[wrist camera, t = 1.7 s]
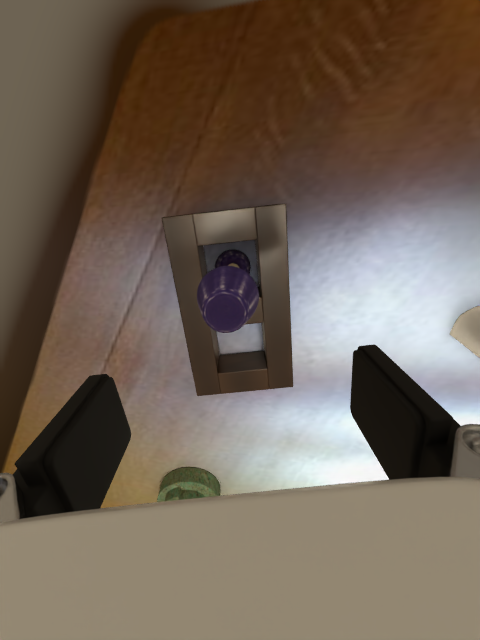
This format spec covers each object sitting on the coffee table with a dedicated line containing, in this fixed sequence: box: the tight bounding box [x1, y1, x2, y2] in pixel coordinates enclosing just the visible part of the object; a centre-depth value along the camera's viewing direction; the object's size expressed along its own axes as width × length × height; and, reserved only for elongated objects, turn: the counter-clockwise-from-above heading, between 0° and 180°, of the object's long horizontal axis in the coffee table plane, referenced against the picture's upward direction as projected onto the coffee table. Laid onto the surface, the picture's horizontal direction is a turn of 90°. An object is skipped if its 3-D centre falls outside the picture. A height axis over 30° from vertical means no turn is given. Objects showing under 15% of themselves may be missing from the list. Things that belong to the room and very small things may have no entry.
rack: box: [162, 204, 293, 396], centre depth 32 cm, size 12×21×4 cm, turn 6°
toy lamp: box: [197, 250, 259, 333], centre depth 25 cm, size 5×5×17 cm
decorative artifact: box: [157, 467, 220, 502], centre depth 44 cm, size 10×7×10 cm
